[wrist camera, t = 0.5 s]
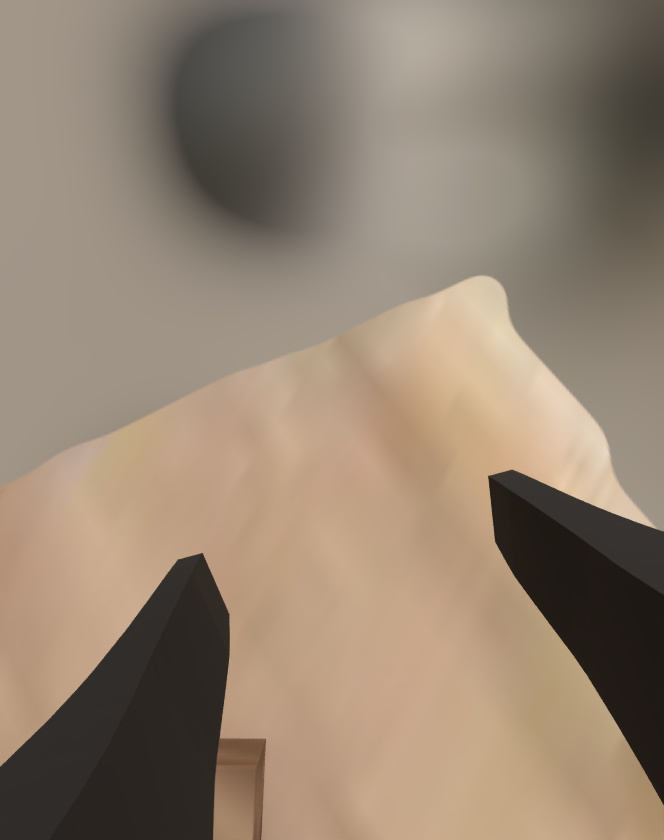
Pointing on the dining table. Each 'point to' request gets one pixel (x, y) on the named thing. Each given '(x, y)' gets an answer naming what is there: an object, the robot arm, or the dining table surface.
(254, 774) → the cabinet
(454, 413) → the dining table surface
